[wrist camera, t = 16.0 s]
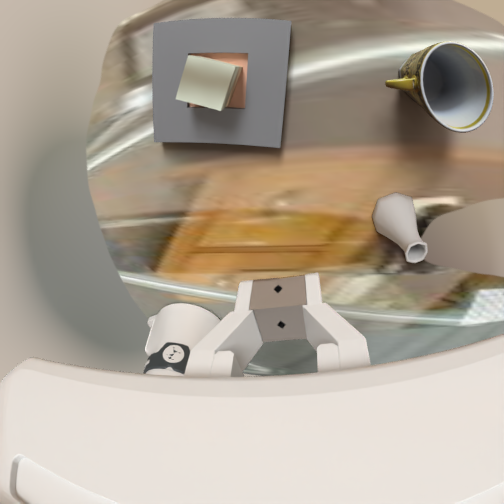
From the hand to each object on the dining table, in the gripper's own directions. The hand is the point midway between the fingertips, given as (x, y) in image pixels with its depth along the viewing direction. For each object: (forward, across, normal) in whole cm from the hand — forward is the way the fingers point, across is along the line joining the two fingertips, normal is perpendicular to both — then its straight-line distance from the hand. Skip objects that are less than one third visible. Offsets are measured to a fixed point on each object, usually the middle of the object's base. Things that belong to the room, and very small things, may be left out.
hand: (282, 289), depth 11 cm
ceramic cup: (+29, -18, -5) cm, 35 cm away
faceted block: (+28, +6, -8) cm, 30 cm away
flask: (+29, -15, +14) cm, 36 cm away
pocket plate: (+29, +6, -8) cm, 31 cm away
